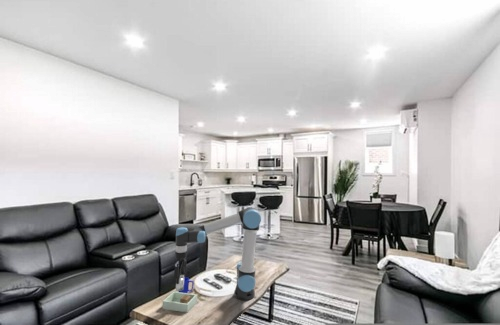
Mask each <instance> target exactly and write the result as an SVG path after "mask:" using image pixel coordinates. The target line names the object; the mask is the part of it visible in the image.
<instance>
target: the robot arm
mask: <svg viewBox="0 0 500 325" xmlns="http://www.w3.org/2000/svg"><path fill="white" fill-rule="evenodd" d="M261 222H262V216H261V214H260V212H259V211H258V210H257V209H256V208H254V207H253V206H252V207H246V208H243V209H241V210H238V211H237V213H235V214H232V215H229V216H226V217H223V218H220V219H217V220H214V221H211V222H209V223H205V224H203V225H197V226H195V227H194V229H193V230H188V228H187V227H185V226H182V227H177V228H176V230H175V231H176V232H175V254H174V255H175V256H174V257H175V258H176V263H173V264H174V265H173V266H174V272H173V273H174V274H173V277H174V278H173V279H175V289H176V288H177V289H180V277H183V278H184V277H185V276H186V275H187V260H188V258H187V257H188V256H187V254H188V243H199V244H200V243H205V241H206V236H208V235H211V234H213V233H216V232H220V231H222V230H224V229H225V230H226V229H227V228H231V227H234V226H237V225H239V224H241V225H242V226H241V227H242V229H243V239H242V240H243V241H242V251H241V253H242V254H241V260H240V261H241V262H238V263H237V264H236V286H235V289H234V291H233V296H234V298H236V299H237V300H240V301H250V300H252V299H253V298H255V297H256V296H255V294H256V291H255V287H256V268H255V267H254V265H255V256H256V243H257V233H258V232H259V231H260V225H261ZM242 229H241V230H242ZM175 258H174V259H175Z"/></svg>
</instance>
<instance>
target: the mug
mask: <svg viewBox="0 0 500 325" xmlns="http://www.w3.org/2000/svg"><path fill="white" fill-rule="evenodd" d="M194 282H195V281H194V280H190V278H189V277H186V276H184V288H183V290H182V291H177V292H181V293H188V292H192V291H193V289H194ZM190 283H192V284H191V289H189V287H190Z"/></svg>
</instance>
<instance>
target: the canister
mask: <svg viewBox="0 0 500 325" xmlns="http://www.w3.org/2000/svg"><path fill="white" fill-rule="evenodd" d="M183 288H184V278H183V277H180V289H177V288H176V287H175V292H178V291H182V290H183Z"/></svg>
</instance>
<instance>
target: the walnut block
mask: <svg viewBox="0 0 500 325" xmlns="http://www.w3.org/2000/svg"><path fill="white" fill-rule="evenodd" d="M190 300H191V296H186V295H184V296H183V297H182V298H180V303H186V304H187V303H188V302H189V301H190Z"/></svg>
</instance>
